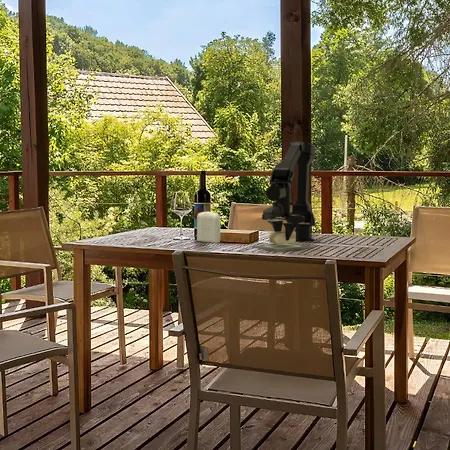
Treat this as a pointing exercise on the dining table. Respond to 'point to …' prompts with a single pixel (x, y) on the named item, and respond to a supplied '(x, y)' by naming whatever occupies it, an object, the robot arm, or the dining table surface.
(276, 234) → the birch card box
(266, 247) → the rubber mat
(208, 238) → the soap bar
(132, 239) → the dining table surface
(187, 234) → the dining table surface
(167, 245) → the dining table surface
